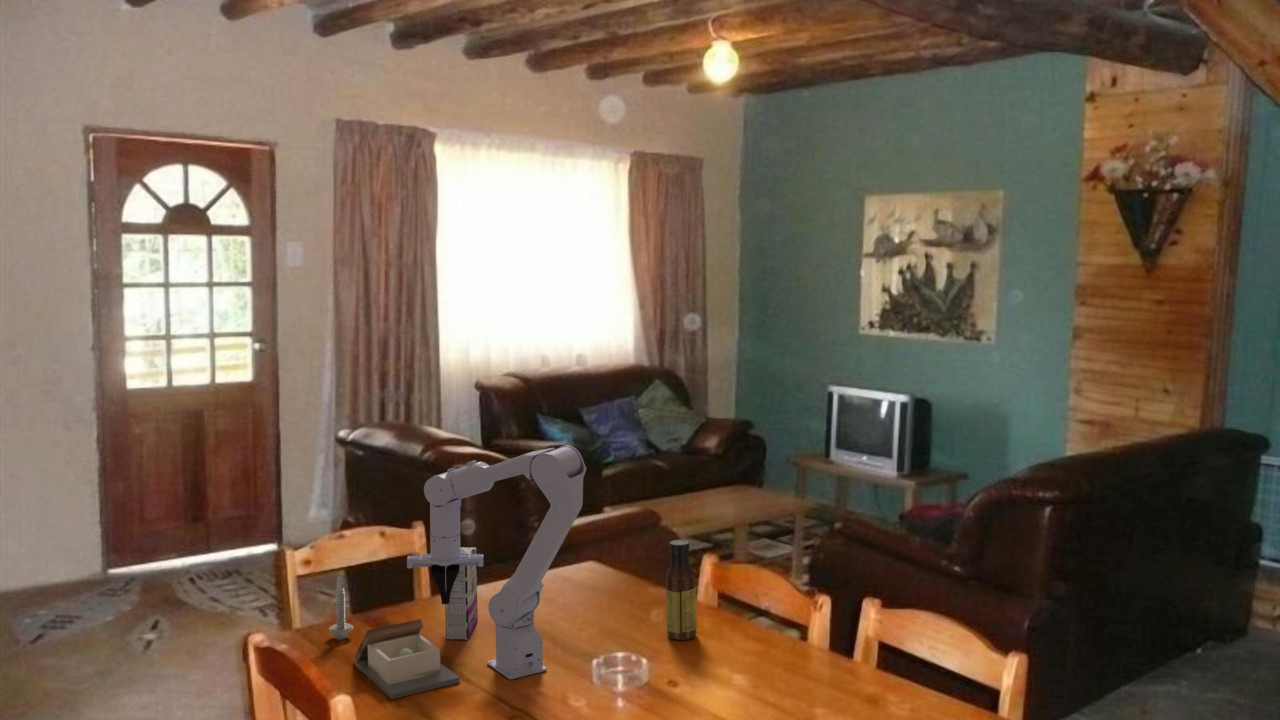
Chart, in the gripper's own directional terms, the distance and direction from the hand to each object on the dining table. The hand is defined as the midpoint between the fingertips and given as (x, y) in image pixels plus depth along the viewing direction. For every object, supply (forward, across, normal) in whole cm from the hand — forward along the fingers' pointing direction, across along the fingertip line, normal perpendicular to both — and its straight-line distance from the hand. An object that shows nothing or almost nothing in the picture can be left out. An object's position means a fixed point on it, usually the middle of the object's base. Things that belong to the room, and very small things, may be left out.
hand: (445, 602), depth 205 cm
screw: (+11, -22, +11) cm, 26 cm away
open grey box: (+10, -7, -10) cm, 16 cm away
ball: (+9, -7, -9) cm, 14 cm away
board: (+10, -7, -10) cm, 16 cm away
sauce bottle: (+10, +47, +5) cm, 49 cm away
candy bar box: (+11, +2, +12) cm, 17 cm away
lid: (+7, -10, -4) cm, 13 cm away
